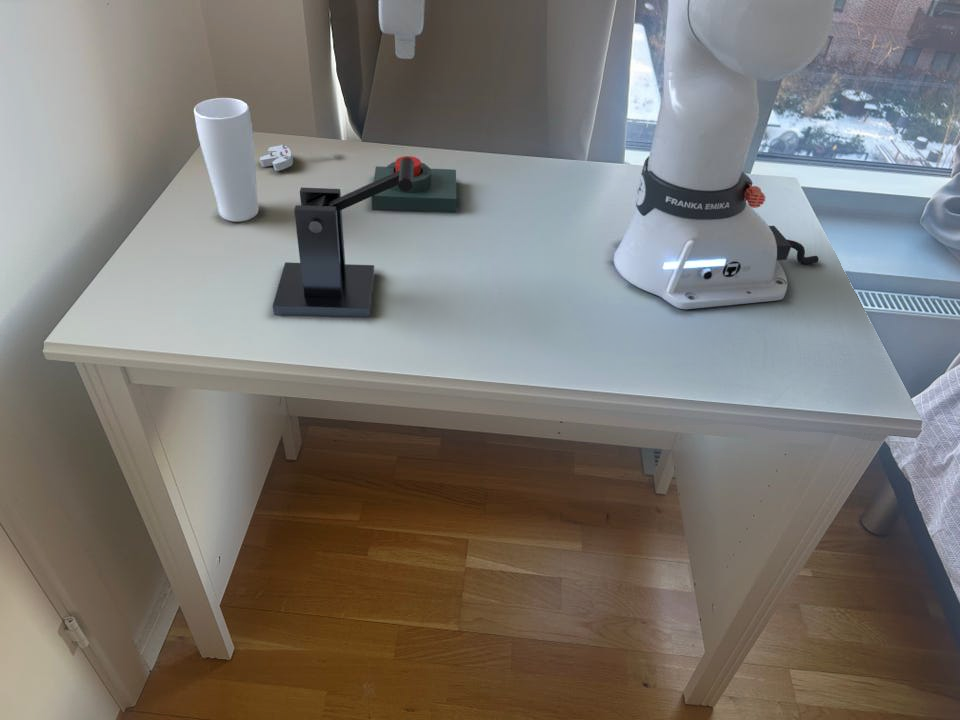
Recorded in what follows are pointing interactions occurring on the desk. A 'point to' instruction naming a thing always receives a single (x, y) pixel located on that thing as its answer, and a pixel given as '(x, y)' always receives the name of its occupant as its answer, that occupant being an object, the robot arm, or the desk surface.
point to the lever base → (322, 266)
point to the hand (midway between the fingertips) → (405, 53)
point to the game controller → (278, 157)
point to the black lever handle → (373, 187)
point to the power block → (419, 191)
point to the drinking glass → (229, 155)
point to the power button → (416, 165)
